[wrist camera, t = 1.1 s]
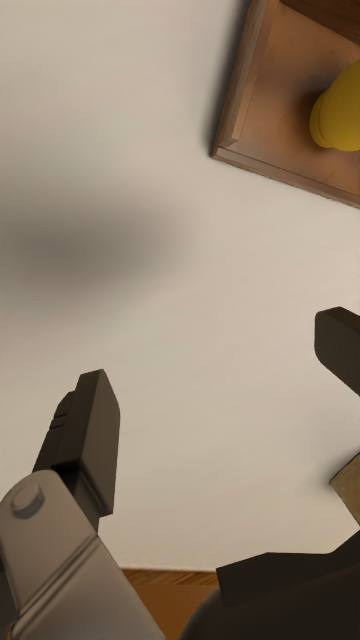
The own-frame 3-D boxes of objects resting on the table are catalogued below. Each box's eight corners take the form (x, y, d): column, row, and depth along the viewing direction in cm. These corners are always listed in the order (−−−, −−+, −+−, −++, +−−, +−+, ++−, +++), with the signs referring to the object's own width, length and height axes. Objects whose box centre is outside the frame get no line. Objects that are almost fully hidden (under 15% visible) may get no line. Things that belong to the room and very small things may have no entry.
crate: (376, 214, 28) (418, 216, 24) (210, 157, 23) (227, 148, 19) (440, 84, 24) (505, 60, 20) (255, -19, 19) (290, -80, 15)
